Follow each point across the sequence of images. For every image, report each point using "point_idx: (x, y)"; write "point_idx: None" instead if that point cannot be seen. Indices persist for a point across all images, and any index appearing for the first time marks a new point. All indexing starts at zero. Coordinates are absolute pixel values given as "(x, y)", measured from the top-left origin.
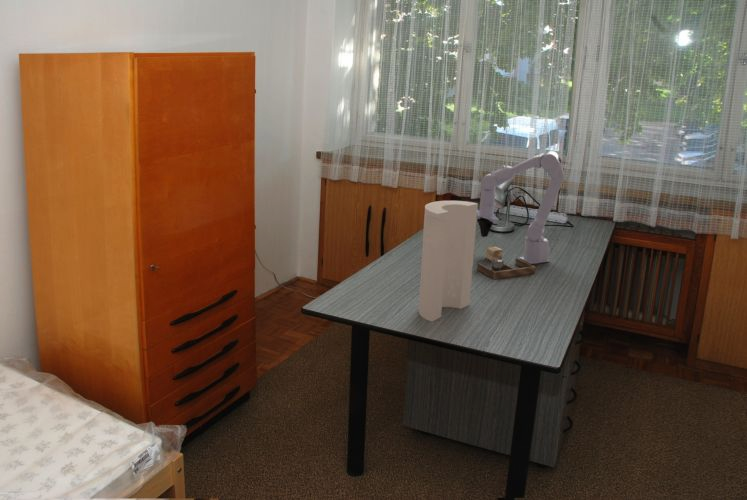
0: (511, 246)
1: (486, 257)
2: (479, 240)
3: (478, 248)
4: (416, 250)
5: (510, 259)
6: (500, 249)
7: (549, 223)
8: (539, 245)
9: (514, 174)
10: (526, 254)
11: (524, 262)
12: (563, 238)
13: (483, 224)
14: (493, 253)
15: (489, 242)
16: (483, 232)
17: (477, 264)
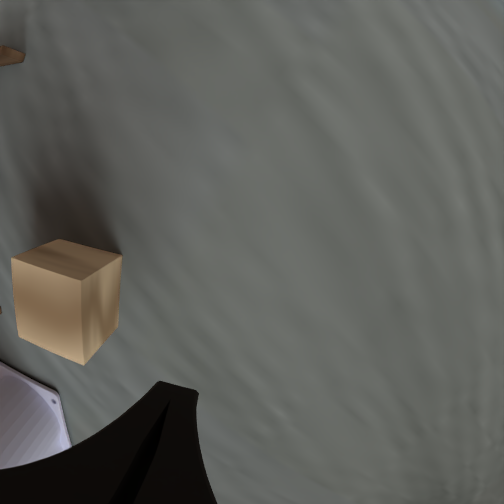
0: (232, 494)
1: (112, 255)
2: (398, 451)
3: (316, 374)
4: (482, 12)
5: (58, 355)
6: (25, 331)
7: None
8: None
9: None
10: (3, 394)
11: None
12: None
13: (22, 472)
14: (25, 256)
15: (343, 470)
16: (127, 410)
17: (5, 46)
